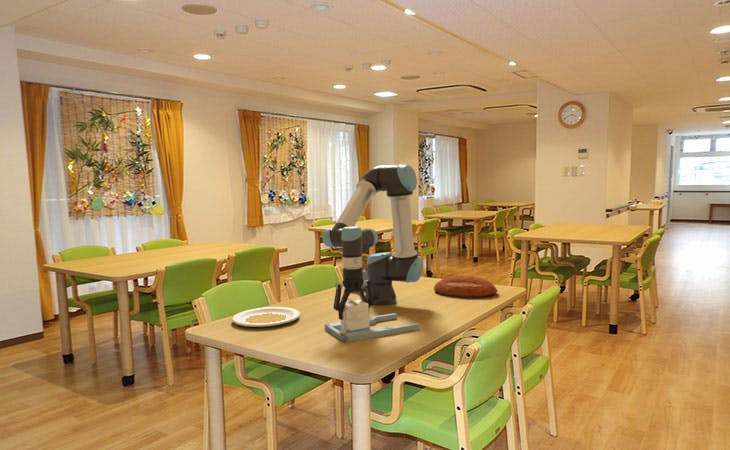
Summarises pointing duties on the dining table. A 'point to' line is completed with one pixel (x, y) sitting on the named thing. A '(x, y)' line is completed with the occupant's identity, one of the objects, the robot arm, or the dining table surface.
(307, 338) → the dining table surface
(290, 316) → the plate
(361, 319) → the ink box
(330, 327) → the dock
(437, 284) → the bread
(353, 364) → the dining table surface
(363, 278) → the mug
